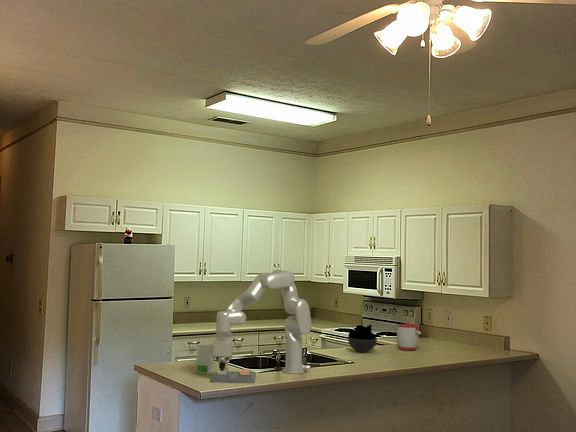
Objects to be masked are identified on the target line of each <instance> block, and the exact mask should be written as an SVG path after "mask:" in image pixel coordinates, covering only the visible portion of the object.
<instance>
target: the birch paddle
mask: <svg viewBox="0 0 576 432" xmlns="http://www.w3.org/2000/svg"><path fill="white" fill-rule="evenodd" d="M221 360H222V362H223V360H224V359H221ZM229 363H230V359H228V360H227V361H226V362H225V369H228V370H229Z"/></svg>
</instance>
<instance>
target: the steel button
mask: <svg viewBox="0 0 576 432" xmlns="http://www.w3.org/2000/svg"><path fill="white" fill-rule="evenodd" d="M216 371H217V375H227V372H228V371H229V368H228V369H224V370H220V368H218V369H217V370H216Z"/></svg>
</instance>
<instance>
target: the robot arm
mask: <svg viewBox="0 0 576 432" xmlns="http://www.w3.org/2000/svg"><path fill="white" fill-rule="evenodd" d="M295 279H296V276H295V274H294V273H293V272H292V271H289V270H282V269H281V270H280V269H279V270H278V269H275V270H273V271H272V272H270V273H269V272H261V273H259V274H257V276H255V278H254V279H253V280H252V282H251V284H249V286H248V287H247V289H246V290H245V291H244V292H243V293H242V294H241V295H239V296H237V298H235V299H234V300H232V301H231V303H230V304H229V306H228V307H227V308H226V310H222V311H220V310H219V311H217V313H216V324H215V325H216V328H215V337H214V339H213V356H212V358H214V360H217V362H218V363H219V364H218V369H220V370H224V369H225V362H226V361H227V360H232V359H233V338H232V337H231V336H234V332H232V331H231V327H232V325H234V326H241V325H243V324H244V323H245V322H246V321H247V316H246V313H244V311H242V310H243V309H245V308H246V307H248V306H250V305H253V304H255V303H257V302H258V301H259V300H260V299H261V297H262V296H263V294H264V293H265V291H266V290H270V289H271V290H274V289H276V290H277V289H280V290H281V294H282V300H283V306H284V310H285V312H286V313H287V314H289V316H288V317H287V318H286V319H285V321H284V331H285V357H284V359H285V361H284V362H285V364H284V365H285V368H284V367H283V368H282V372H283V373H285V374H291V375H292V374H293V375H294V374H296V375H297V374H303V373H305V370H310V369H311V365H309V364H306V365H305V364H303V336H304V335H305V336H306V335H307V334H309V333H311V330H312V318H311V310H310V305H309V303H308V301H307V300H305V299H303V298H299V295H298V290H297V286H296V284H295V281H296V280H295ZM302 335H303V336H302ZM222 358H223V359H222ZM222 360H223V362H222Z"/></svg>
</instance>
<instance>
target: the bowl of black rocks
mask: <svg viewBox="0 0 576 432" xmlns="http://www.w3.org/2000/svg"><path fill="white" fill-rule="evenodd" d="M372 327H373V326H372V324H369V325H367V326H364V325H362V324H361V325H360V324H359V325H356V327H355V329H354V330H353V331H350V332H348V336H347V342H348V343H349V344H348V345H349V346H350V347H351V348H352V349H353V350H354V351H356V352H358V353H367V352H369V351H370V352H371V351H372V350H373V349H374V347H375V346H376V344H377V342H378V338H377V337H376V335H375V334H374V333H373V332H372Z"/></svg>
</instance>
